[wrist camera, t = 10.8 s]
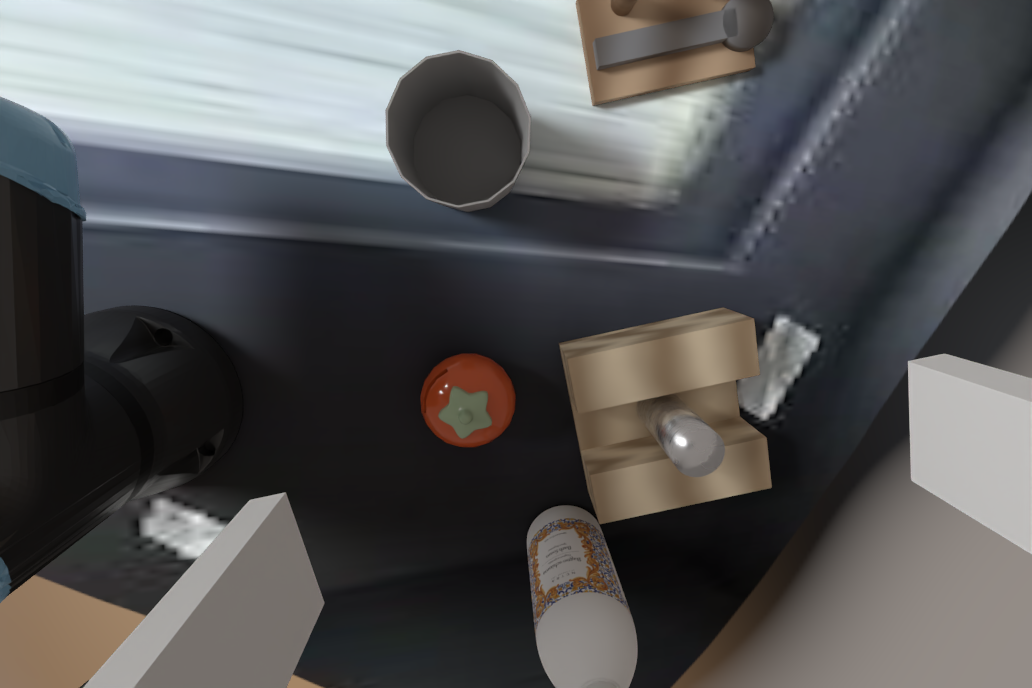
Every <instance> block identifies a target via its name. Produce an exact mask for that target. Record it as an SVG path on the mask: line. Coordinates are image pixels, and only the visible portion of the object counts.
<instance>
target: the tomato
mask: <svg viewBox="0 0 1032 688" xmlns="http://www.w3.org/2000/svg"><path fill="white" fill-rule="evenodd" d="M420 399H421V413H422V415H423V418H424V421H425V423H426V425H427V426H428V427H429V429H430V430H431V431H432V432H433V434H434V435H435V436H437V437H438V438H440V439H441V440H443V441H444V442H446V443H448V444H451V445H455V446H458V447H478V446H481V445H485V444H488V443H490V442H492V441H493V440H494V439H496V438H497V437H499V436H500V435H501V434H502V433H503V432H504V431H505V429H506V428H507V427H508V426H509V424H510V422H511V419H512V416H513V414H514V411H515V405H516V393H515V390H514V386H513V383H512V380H511V379H510V377H509V376H508V375H507V373H506V372H505V370H504V369H503V368H502V366H501V365H499V364H498V363H496V362H495V361H494V360H492V359H491V358H489V357H486V356H483V355H480V354H477V353H461V354H457V355H454V356H451V357H448V358H446V359H445V360H443V361H442V362H441V363H439V364H438V365H436V366H435V367H434V368H433V369H432V370H431V372H430V373H429V374H428V376H427V377H426V378H425V380H424V383H423V387H422V390H421V394H420Z"/></svg>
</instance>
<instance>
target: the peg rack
mask: <svg viewBox="0 0 1032 688" xmlns="http://www.w3.org/2000/svg"><path fill="white" fill-rule="evenodd" d="M576 8H577V14H578V20H579V26H580V32H581V38H582V44H583V50H584V57H585V63H586V69H587V75H588V81H589V87H590V93H591V99H592V105H593V106H594V105H598V104H603V103H607V102H612V101H616V100H621V99H625V98H630V97H634V96H639V95H643V94H648V93H652V92H657V91H661V90H666V89H670V88H675V87H679V86H684V85H688V84H693V83H697V82H702V81H706V80H711V79H716V78H720V77H725V76H729V75H734V74H738V73H743V72H747V71H750V70H751V69H753V68H755V58H754V47H755V46H756V45H758V44H759V43H760V42H762V41H763V40H764V39H765V38H766V37H767V35H768V34H769V32H770V30H771V28H772V25H773V19H774V12H773V7H772V5H771V2H770V1H769V0H577V1H576Z"/></svg>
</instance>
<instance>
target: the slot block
mask: <svg viewBox="0 0 1032 688" xmlns="http://www.w3.org/2000/svg"><path fill="white" fill-rule="evenodd" d="M559 347H560V352H561V357H562V362H563V367H564V372H565V377H566V382H567V387H568V392H569V397H570V402H571V408H572V413H573V418H574V423H575V428H576V433H577V438H578V443H579V448H580V453H581V458H582V463H583V468H584V473H585V478H586V483H587V488H588V492H589V495H590V498H591V501H592V504H593V507H594V510H595V512H596V515H597V518H598V521H599V524H604V523H608V522H613V521H618V520H622V519H627V518H632V517H637V516H641V515H646V514H651V513H655V512H660V511H665V510H670V509H674V508H679V507H684V506H688V505H693V504H698V503H702V502H707V501H712V500H717V499H721V498H726V497H731V496H735V495H740V494H745V493H750V492H754V491H759V490H764V489H768V488H772V485H771V475H770V466H769V456H768V447H767V438H766V437H765V436H764V435H763V434H761V433H760V432H759V431H757V430H756V429H755V428H754V427H752V426H751V425H750V424H749V423H747V422H746V421H745V420H743V419H742V418H741V417H740V412H739V403H738V395H737V386H736V380H738V379H743V378H748V377H752V376H757V375H760V370H759V361H758V351H757V342H756V332H755V322H754V318H751V317H748V316H745V315H743V314H740V313H737V312H734V311H732V310H729V309H726V308H718V309H714V310H709V311H705V312H700V313H695V314H691V315H686V316H681V317H677V318H672V319H668V320H663V321H658V322H654V323H649V324H644V325H640V326H635V327H631V328H626V329H621V330H617V331H612V332H608V333H603V334H598V335H594V336H589V337H584V338H580V339H575V340H571V341H566V342H561V343H559ZM673 393H675V394H676V395H677V396H678V397H679V398H680V399H681V400H682V401H683V402H684V403H685V404H686V405H687V406H689V407H690V408H691V409H692V410H693V411H694V412H695V413H696V414H697V415H698V416H699V417H700V418H701V419H702V420H703V421H704V422H706V423H707V424H708V425H709V426H710V427H711V428H712V429H713V430H714V431H715V432H716V433H717V434H718V435H719V436H720V437H721V438H722V440H723V442H724V445H725V455H724V458H723V461H722V463H721V464H720V466H719V467H718V468H717V469H716V470H715V471H713V472H712V473H710V474H708V475H706V476H702V477H690V476H687V475H685V474H683V473H681V472H680V471H679V470H678V469H677V468H676V466H675V465H674V464H673V462H672V461H671V460H670V458H669V457H668V456H667V454H666V453H665V452H664V450H663V449H662V447H661V446H660V445H659V443H658V442H657V441H656V439H655V438H654V437H653V435H652V434H651V433H650V431H649V430H648V429H647V427H646V426H645V425H644V423H643V422H642V421H641V419H640V418H639V416H638V413H637V403H638V401H641V400H645V399H650V398H655V397H659V396H664V395H669V394H673Z"/></svg>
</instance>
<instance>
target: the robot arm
mask: <svg viewBox="0 0 1032 688" xmlns="http://www.w3.org/2000/svg"><path fill="white" fill-rule="evenodd" d="M82 221H86V212H85V210H84V209H83V208H82V207H81V206H80V196H79V184H78V172H77V160H76V153H75V150H74V147H73V145H72V143H71V141H70V140H69V138H68V137H67V136H66V135H65V133H64V132H63V131H62V130H61V129H60V128H59V127H57V126H56V125H55V124H54V123H53V122H51V121H50V120H48V119H47V118H45V117H43V116H42V115H40V114H38V113H36V112H34V111H32V110H30V109H28V108H26V107H24V106H22V105H19V104H17V103H15V102H12V101H10V100H7V99H5V98H2V97H0V603H1V602H2V601H3V600H4V599H5V598H6V597H7V596H8V595H9V594H11V593H12V592H13V591H14V590H16V589H17V588H18V587H20V586H21V585H22V584H23V583H25V582H26V581H27V580H28V579H30V578H31V577H32V576H34V575H35V574H36V573H37V572H39V571H40V570H41V569H43V568H44V567H45V566H46V565H48V564H49V563H50V562H51V561H53V560H54V559H55V558H57V557H58V556H59V555H60V554H62V553H63V552H64V551H66V550H67V549H68V548H69V547H71V546H72V545H73V544H74V543H76V542H77V541H78V540H80V539H81V538H82V537H83V536H85V535H86V534H87V533H89V532H90V531H91V530H92V529H94V528H95V527H96V526H97V525H99V524H100V523H101V522H103V521H104V520H105V519H106V518H108V517H109V516H110V515H111V514H113V513H114V512H115V511H117V510H118V509H119V508H120V507H122V506H123V505H124V504H126V503H127V502H129V501H132V500H135V499H139V498H142V497H145V496H149V495H152V494H155V493H158V492H162V491H165V490H168V489H172V488H175V487H178V486H180V485H183V484H185V483H187V482H189V481H191V480H193V479H194V478H196V477H198V476H199V475H201V474H202V473H203V472H205V471H206V470H207V469H208V468H209V467H211V466H212V465H213V464H214V463H215V462H216V461H218V460H219V459H220V458H221V457H222V456H223V455H224V454H225V453H226V452H227V450H228V449H229V448H230V446H231V445H232V443H233V441H234V440H235V438H236V436H237V433H238V431H239V428H240V424H241V420H242V413H243V397H242V390H241V386H240V382H239V379H238V376H237V374H236V371H235V369H234V367H233V365H232V363H231V361H230V360H229V358H228V356H227V355H226V353H225V352H224V351H223V349H222V348H221V347H220V346H219V345H218V343H217V342H216V341H215V340H214V339H213V338H212V337H211V336H210V335H208V334H207V333H206V332H205V331H204V330H202V329H201V328H200V327H198V326H197V325H195V324H194V323H192V322H191V321H189V320H187V319H185V318H183V317H181V316H179V315H177V314H174V313H172V312H169V311H166V310H162V309H158V308H153V307H147V306H121V307H115V308H110V309H106V310H101V311H97V312H93V313H89V314H86V315H84V300H83V236H82ZM908 378H909V379H908V380H909V419H910V456H911V457H910V458H911V481H913V482H915V483H916V484H918V485H919V486H921V487H923V488H924V489H926V490H927V491H929V492H931V493H932V494H934V495H936V496H937V497H939V498H941V499H942V500H944V501H946V502H947V503H949V504H950V505H952V506H954V507H955V508H957V509H958V510H960V511H962V512H963V513H965V514H967V515H968V516H970V517H971V518H973V519H975V520H976V521H978V522H980V523H981V524H983V525H985V526H986V527H988V528H989V529H991V530H993V531H994V532H996V533H998V534H999V535H1001V536H1003V537H1004V538H1006V539H1008V540H1009V541H1011V542H1012V543H1014V544H1015V545H1017V546H1019V547H1021V548H1022V549H1024V550H1025V551H1027V552H1029V553H1030V554H1032V378H1028V377H1024V376H1021V375H1018V374H1014V373H1011V372H1007V371H1004V370H1000V369H997V368H993V367H990V366H986V365H982V364H979V363H976V362H972V361H969V360H965V359H962V358H958V357H955V356H951V355H948V354H940V355H936V356H931V357H926V358H921V359H917V360H912V361H908ZM323 605H324V601H323V598H322V595H321V592H320V589H319V586H318V583H317V580H316V578H315V575H314V572H313V569H312V566H311V563H310V560H309V558H308V555H307V552H306V549H305V546H304V543H303V540H302V537H301V535H300V532H299V529H298V526H297V523H296V520H295V517H294V514H293V512H292V509H291V506H290V503H289V500H288V497H287V494H286V492H285V493H280V494H275V495H271V496H266V497H261V498H256V499H252V500H249V501H248V502H247V504H246V505H245V506H244V507H243V508H242V509H241V510H240V511H239V513H238V514H237V515H236V516H235V517H234V518H233V519H232V520H231V522H230V523H229V524H228V525H227V526H226V527H225V528H224V529H223V531H222V532H221V533H220V534H219V535H218V536H217V537H216V538H215V540H214V541H213V542H212V543H211V544H210V545H209V546H208V547H207V549H206V550H205V551H204V552H203V553H202V554H201V555H200V557H199V558H198V559H197V560H196V561H195V562H194V563H193V564H192V566H191V567H190V568H189V569H188V570H187V571H186V572H185V573H184V575H183V576H182V577H181V578H180V579H179V580H178V581H177V582H176V584H175V585H174V586H173V587H172V588H171V589H170V590H169V591H168V593H167V594H166V595H165V596H164V597H163V598H162V599H161V600H160V602H159V603H158V604H157V605H156V606H155V607H154V608H153V609H152V611H151V612H150V613H149V614H148V615H147V616H146V617H145V618H144V620H143V621H142V622H141V623H140V624H139V625H138V626H137V627H136V629H135V630H134V631H133V632H132V633H131V634H130V635H129V637H128V638H127V639H126V640H125V641H124V642H123V643H122V645H120V647H119V648H118V649H117V650H116V651H115V652H114V653H113V654H112V656H111V657H110V658H109V659H108V660H107V661H106V663H104V665H103V666H102V667H101V668H100V669H99V670H98V671H97V672H96V674H95V675H94V676H93V677H92V678H91V679H90V680H89V681H87V682H86V683H84V684H83V685H82V686H81V687H80V688H286V687H287V685H288V683H289V681H290V679H291V676H292V674H293V672H294V670H295V667H296V665H297V663H298V661H299V659H300V656H301V654H302V652H303V650H304V647H305V645H306V643H307V641H308V638H309V636H310V634H311V632H312V630H313V627H314V625H315V623H316V621H317V618H318V616H319V614H320V612H321V609H322V607H323Z"/></svg>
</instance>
